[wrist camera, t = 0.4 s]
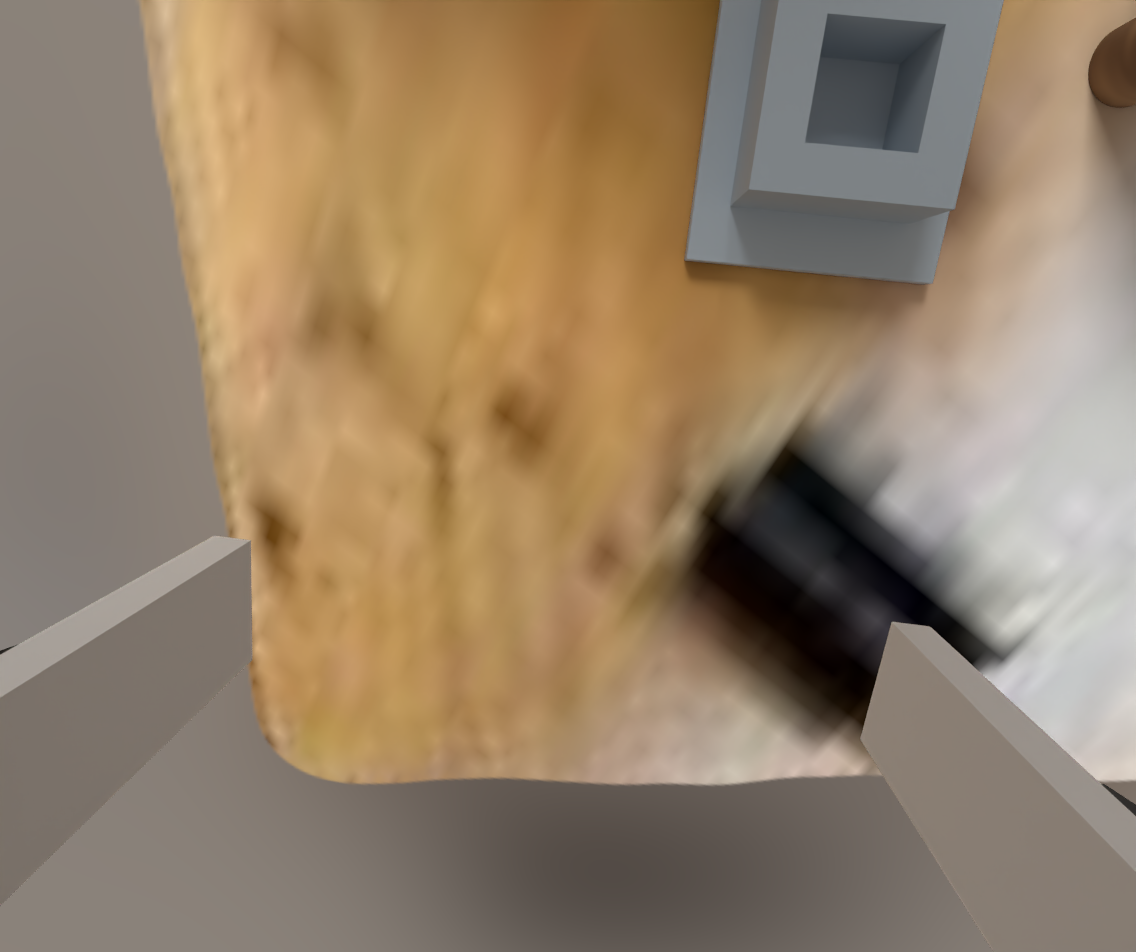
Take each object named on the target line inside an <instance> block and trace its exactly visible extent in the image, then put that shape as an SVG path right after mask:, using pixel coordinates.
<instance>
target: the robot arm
mask: <svg viewBox="0 0 1136 952" xmlns="http://www.w3.org/2000/svg"><path fill="white" fill-rule="evenodd" d="M251 661H252V600H251V540H244V539H236V538H228V537H219V536H213V537H211V538H209V539H208V540H206V541H204V542H202V543H200V544H198V545H197V546H195V547H193V548H191V549H190V550H188V551H186V552H184V553H182V554H181V555H179V556H177V557H175V558H173V559H172V560H170V561H168V562H166V563H164V564H162V565H161V566H159V567H157V568H155V569H153V570H152V571H150V572H148V573H146V574H144V575H143V576H141V577H139V578H137V579H135V580H134V581H132V582H130V583H128V584H126V585H125V586H123V587H121V588H119V589H118V590H116V591H114V592H112V593H110V594H109V595H107V596H105V597H103V598H101V599H99V600H98V601H96V602H94V603H92V604H91V605H89V606H87V607H85V608H83V609H82V610H80V611H78V612H76V613H74V614H73V615H71V616H69V617H67V618H65V619H64V620H62V621H60V622H58V623H56V624H55V625H53V626H51V627H49V628H47V629H46V630H44V631H42V632H40V633H38V634H37V635H35V636H33V637H31V638H29V639H28V640H26V641H24V642H22V643H21V644H18V645H15V646H13V647H9V648H7V649H4V650H1V651H0V905H1V904H2V903H3V902H4V901H6V900H7V899H8V898H9V897H10V896H11V895H12V894H13V893H14V892H15V891H16V890H17V889H18V888H19V887H20V886H21V885H22V884H23V883H24V882H25V881H26V880H27V879H28V878H29V877H30V876H31V875H32V874H33V873H34V872H35V871H36V870H37V869H38V868H39V867H40V866H41V865H42V864H43V863H44V862H45V861H47V860H48V859H49V858H50V857H51V856H52V855H53V854H54V853H55V852H56V851H57V850H58V849H59V848H60V847H61V846H62V845H63V844H64V843H65V842H66V841H67V840H68V839H69V838H70V837H71V836H72V835H73V834H74V833H75V832H76V831H77V830H78V829H79V828H80V827H81V826H82V825H83V824H84V823H85V822H87V821H88V820H89V818H91V816H93V815H94V814H95V813H96V812H97V811H98V810H99V809H100V808H101V807H102V806H103V805H104V804H105V803H106V802H107V801H108V800H109V799H110V798H111V797H112V796H113V795H114V794H115V793H116V792H117V791H118V790H119V789H120V788H121V787H122V786H123V785H124V784H125V783H126V782H128V781H129V780H130V779H131V777H133V776H134V775H135V774H136V773H137V772H138V771H139V770H140V769H141V768H142V767H143V766H144V765H145V764H146V763H147V762H148V761H149V760H150V759H151V758H152V757H153V756H154V755H155V754H156V753H157V752H158V751H159V750H160V749H161V748H162V747H163V746H164V745H166V744H167V743H168V741H170V740H171V739H172V738H173V737H174V736H175V735H176V734H177V733H178V732H179V731H180V730H181V729H182V728H183V727H184V726H185V725H186V724H187V723H188V722H189V721H190V720H191V719H192V718H193V717H194V716H195V715H196V714H197V713H198V712H199V711H200V710H201V709H202V708H203V707H204V706H206V705H207V704H208V703H209V701H211V700H212V698H214V697H215V696H216V695H217V694H218V693H219V692H220V691H221V690H222V689H223V688H224V687H225V686H226V685H227V684H228V683H229V682H230V681H231V680H232V679H233V678H234V677H235V676H236V675H237V674H238V673H239V672H240V671H241V670H242V669H243V668H244V667H246V666H247V665H248V664H249V663H250V662H251ZM860 740H861V741H862V743H863V745H864V746H865V748H866V749H867V751H868V753H869V754H870V756H871V757H872V759H873V761H874V762H875V764H876V765H877V767H878V769H879V770H880V772H881V773H882V775H883V777H884V778H885V780H886V781H887V783H888V785H889V786H890V788H891V789H892V791H893V793H894V794H895V796H896V797H897V799H898V800H899V802H900V804H901V805H902V807H903V808H904V810H905V812H906V813H907V815H908V817H909V818H910V820H911V821H912V823H913V824H914V826H915V828H916V829H917V831H918V833H919V834H920V836H921V837H922V839H923V840H924V842H925V844H926V845H927V847H928V849H929V850H930V852H931V853H932V855H933V857H934V858H935V860H936V861H937V863H938V865H939V866H940V868H941V869H942V871H943V873H944V874H945V876H946V877H947V879H948V881H949V882H950V884H951V885H952V887H953V889H954V890H955V892H956V893H957V895H958V897H959V898H960V900H961V901H962V903H963V904H964V906H965V908H966V909H967V911H968V913H969V914H970V916H971V917H972V919H973V921H974V922H975V923H976V925H977V927H978V928H979V930H980V932H981V933H982V935H983V936H984V938H985V940H986V941H987V942H988V944H989V946H990V948H991V949H992V951H993V952H1136V805H1135V804H1134V803H1132V802H1130V801H1129V800H1127V799H1126V798H1125V797H1123V796H1122V795H1120V794H1118V793H1117V792H1115V791H1114V790H1112V789H1111V788H1109V787H1108V786H1106V785H1104V784H1100V783H1099V782H1098V781H1097V780H1096V779H1095V778H1094V777H1093V776H1092V775H1091V774H1089V773H1088V772H1087V771H1086V770H1085V769H1084V768H1083V767H1082V766H1081V765H1080V764H1079V763H1078V762H1076V761H1075V760H1074V759H1073V758H1072V757H1071V756H1070V755H1069V754H1068V753H1067V752H1066V751H1064V750H1063V749H1062V748H1061V747H1060V746H1059V745H1058V744H1057V743H1056V742H1055V741H1054V740H1053V739H1051V738H1050V737H1049V736H1048V735H1047V734H1046V733H1045V732H1044V731H1043V730H1042V729H1041V728H1040V727H1038V726H1037V725H1036V724H1035V723H1034V722H1033V721H1032V720H1031V719H1030V718H1029V717H1028V716H1026V715H1025V714H1024V713H1023V712H1022V711H1021V710H1020V709H1019V708H1018V707H1017V706H1016V705H1015V704H1013V703H1012V702H1011V701H1010V700H1009V699H1008V698H1007V697H1006V696H1005V695H1004V694H1003V693H1002V692H1000V691H999V690H998V689H997V688H996V687H995V686H994V685H993V684H992V683H991V682H990V681H989V680H987V679H986V678H985V677H984V676H983V675H982V674H981V673H980V672H979V671H978V670H977V669H975V668H974V667H973V666H972V665H971V664H970V663H969V662H968V661H967V660H966V659H965V658H964V657H962V656H961V655H960V654H959V653H958V652H957V651H956V650H955V649H954V648H953V647H952V646H951V645H949V644H948V643H947V642H946V641H945V640H944V639H943V638H942V637H941V636H940V635H939V634H937V633H936V632H935V631H934V630H933V629H932V628H931V627H929V626H921V625H913V624H905V623H897V622H892V623H891V627H890V631H889V634H888V638H887V642H886V645H885V649H884V653H883V657H882V660H881V664H880V668H879V672H878V675H877V679H876V683H875V686H874V690H873V694H872V698H871V701H870V705H869V709H868V712H867V716H866V720H865V724H864V727H863V731H862V735H861V738H860Z"/></svg>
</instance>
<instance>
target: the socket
mask: <svg viewBox="0 0 1136 952" xmlns="http://www.w3.org/2000/svg"><path fill="white" fill-rule="evenodd" d="M1003 1H1004V0H720V5H719V13H718V20H717V27H716V34H715V41H714V49H713V56H712V63H711V70H710V78H709V85H708V92H707V99H706V107H705V114H704V121H703V128H702V136H701V143H700V150H699V157H698V165H697V172H696V179H695V186H694V194H693V201H692V208H691V215H690V223H689V230H688V237H687V244H686V251H685V259H684V261H694V262H704V263H714V264H724V265H734V266H744V267H754V268H764V269H774V270H784V271H793V272H803V273H813V274H823V275H833V276H843V277H853V278H863V279H873V280H883V281H893V282H903V283H913V284H923V285H924V284H932V283H933V280H934V276H935V271H936V267H937V263H938V258H939V254H940V250H941V245H942V241H943V237H944V233H945V228H946V224H947V220H948V215H949V211H951V210H954V209H955V205H956V201H957V197H958V193H959V188H960V184H961V180H962V176H963V171H964V167H965V163H966V159H967V154H968V150H969V146H970V142H971V137H972V133H973V129H974V125H975V120H976V116H977V112H978V108H979V103H980V99H981V95H982V90H983V86H984V82H985V78H986V73H987V69H988V65H989V61H990V56H991V52H992V48H993V44H994V39H995V35H996V31H997V27H998V22H999V18H1000V14H1001V10H1002V5H1003Z"/></svg>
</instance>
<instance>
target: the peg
mask: <svg viewBox="0 0 1136 952" xmlns="http://www.w3.org/2000/svg"><path fill="white" fill-rule="evenodd" d="M1089 83H1090V87H1091V89H1092V91H1093V93H1094V95H1095V96H1096V97H1097V98H1098V99H1099V100H1100V101H1101V102H1102V103H1104V104H1106V105H1108V106H1111V107H1120V108H1122V107H1128V106H1132V105H1135V104H1136V18H1134V19H1133V20H1131V21H1129V22H1127V23H1126V24H1124V25H1122V26H1120V27H1119V28H1117V29H1115V30H1114V31H1112V32H1111V33H1109V34H1108V35H1107V36H1106V37H1105V38H1104V39H1103V40H1102V41H1101V42H1100V44H1099V45H1098V46H1097V48H1096V50H1095V52H1094V54H1093V56H1092V59H1091V62H1090V66H1089Z"/></svg>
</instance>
